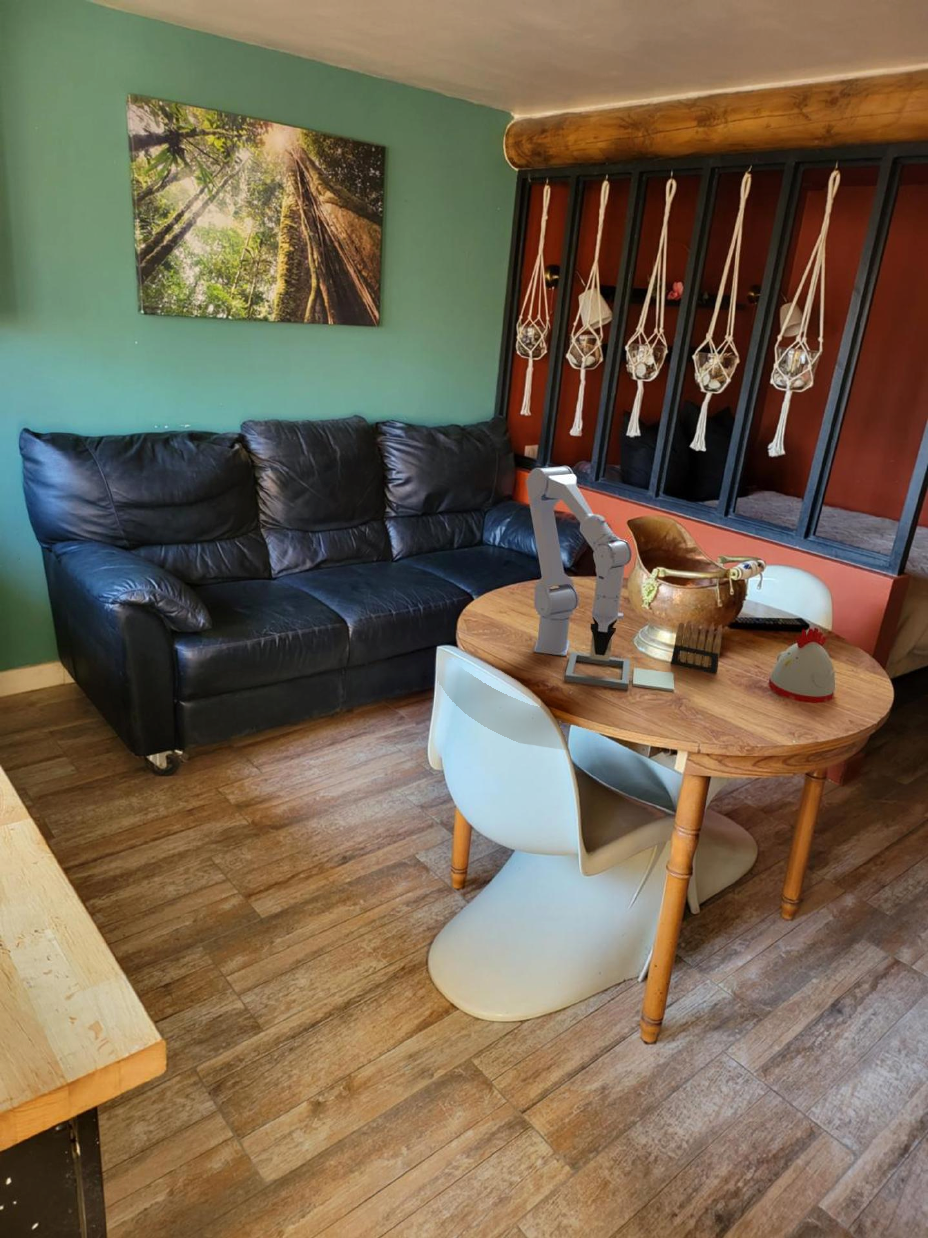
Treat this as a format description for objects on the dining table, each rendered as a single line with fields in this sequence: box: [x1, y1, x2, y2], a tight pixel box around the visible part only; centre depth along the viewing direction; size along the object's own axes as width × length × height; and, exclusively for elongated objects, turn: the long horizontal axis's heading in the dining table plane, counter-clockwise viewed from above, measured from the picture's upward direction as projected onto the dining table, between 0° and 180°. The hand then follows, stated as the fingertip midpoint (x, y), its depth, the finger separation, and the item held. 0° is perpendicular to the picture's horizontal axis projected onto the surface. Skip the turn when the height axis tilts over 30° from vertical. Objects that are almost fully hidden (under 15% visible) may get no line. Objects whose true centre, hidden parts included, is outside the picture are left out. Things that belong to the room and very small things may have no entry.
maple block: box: [589, 634, 614, 661], centre depth 189 cm, size 4×4×6 cm
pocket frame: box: [564, 651, 631, 691], centre depth 191 cm, size 14×14×2 cm
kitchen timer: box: [768, 627, 836, 704], centre depth 186 cm, size 14×14×15 cm
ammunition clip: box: [670, 619, 723, 674], centre depth 195 cm, size 11×2×12 cm, turn 65°
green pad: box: [632, 667, 675, 692], centre depth 189 cm, size 9×9×1 cm
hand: (600, 650), depth 189 cm, fingers closed on maple block, 4 cm apart
